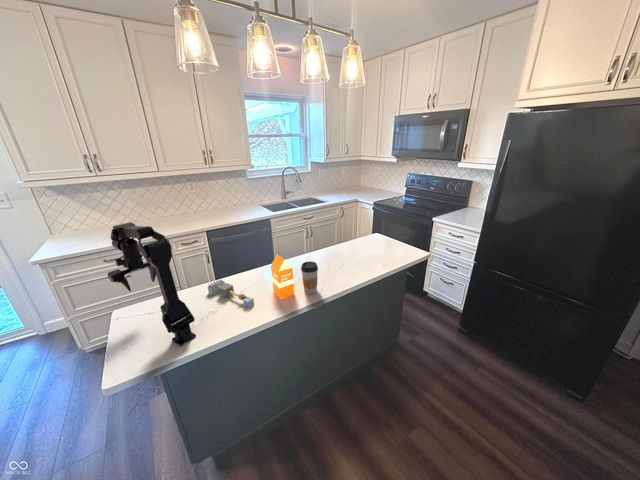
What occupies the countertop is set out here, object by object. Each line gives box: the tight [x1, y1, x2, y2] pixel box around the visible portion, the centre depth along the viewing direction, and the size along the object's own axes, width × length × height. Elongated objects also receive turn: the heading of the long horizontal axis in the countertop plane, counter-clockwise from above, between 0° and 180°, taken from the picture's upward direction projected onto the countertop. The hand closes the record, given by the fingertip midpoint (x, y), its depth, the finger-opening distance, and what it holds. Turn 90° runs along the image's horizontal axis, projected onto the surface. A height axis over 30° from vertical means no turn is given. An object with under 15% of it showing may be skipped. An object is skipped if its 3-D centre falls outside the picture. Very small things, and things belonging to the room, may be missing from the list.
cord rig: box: [207, 278, 255, 309], centre depth 127 cm, size 28×8×5 cm, turn 56°
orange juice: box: [270, 254, 295, 300], centre depth 127 cm, size 8×9×20 cm
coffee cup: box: [300, 261, 319, 295], centre depth 128 cm, size 8×8×15 cm
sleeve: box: [218, 282, 235, 298], centre depth 129 cm, size 5×5×4 cm
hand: (142, 286), depth 112 cm, fingers open, 9 cm apart
